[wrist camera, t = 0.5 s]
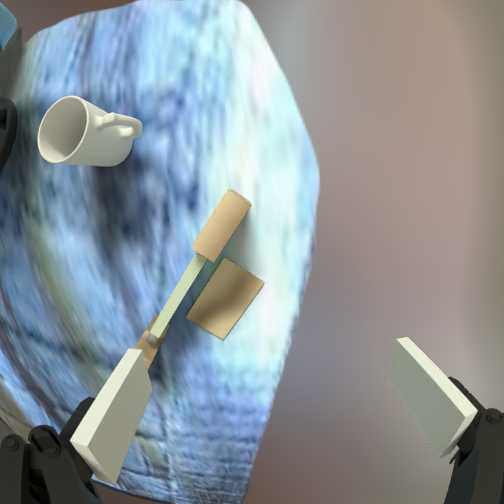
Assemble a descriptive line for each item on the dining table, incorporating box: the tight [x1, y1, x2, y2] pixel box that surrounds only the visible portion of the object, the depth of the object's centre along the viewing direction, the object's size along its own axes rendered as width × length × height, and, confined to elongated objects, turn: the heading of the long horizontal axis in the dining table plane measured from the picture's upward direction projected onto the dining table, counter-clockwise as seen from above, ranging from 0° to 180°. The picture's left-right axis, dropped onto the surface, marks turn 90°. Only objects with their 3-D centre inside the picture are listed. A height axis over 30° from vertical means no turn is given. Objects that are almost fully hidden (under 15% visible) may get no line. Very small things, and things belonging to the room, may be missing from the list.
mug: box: [38, 96, 142, 167], centre depth 24 cm, size 10×7×12 cm, turn 93°
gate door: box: [146, 252, 207, 345], centre depth 30 cm, size 12×1×8 cm, turn 146°
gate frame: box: [134, 190, 264, 370], centre depth 30 cm, size 10×25×10 cm, turn 146°
